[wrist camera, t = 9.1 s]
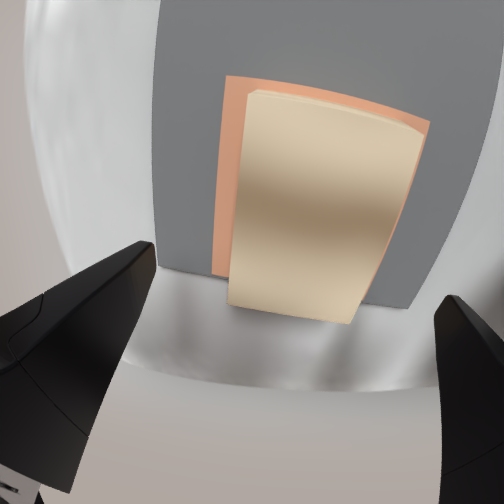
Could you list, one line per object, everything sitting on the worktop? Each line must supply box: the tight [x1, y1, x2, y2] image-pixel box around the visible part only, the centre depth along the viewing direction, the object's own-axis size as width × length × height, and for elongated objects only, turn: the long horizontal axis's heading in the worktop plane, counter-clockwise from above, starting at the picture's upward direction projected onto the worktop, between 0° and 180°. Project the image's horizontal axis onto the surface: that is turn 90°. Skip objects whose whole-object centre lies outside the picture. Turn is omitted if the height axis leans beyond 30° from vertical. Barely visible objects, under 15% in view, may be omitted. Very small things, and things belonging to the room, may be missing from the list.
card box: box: [227, 89, 424, 324], centre depth 11 cm, size 8×6×2 cm, turn 173°
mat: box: [152, 0, 504, 309], centre depth 10 cm, size 14×18×1 cm
